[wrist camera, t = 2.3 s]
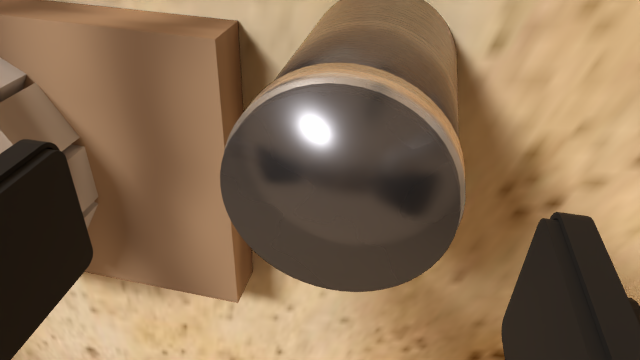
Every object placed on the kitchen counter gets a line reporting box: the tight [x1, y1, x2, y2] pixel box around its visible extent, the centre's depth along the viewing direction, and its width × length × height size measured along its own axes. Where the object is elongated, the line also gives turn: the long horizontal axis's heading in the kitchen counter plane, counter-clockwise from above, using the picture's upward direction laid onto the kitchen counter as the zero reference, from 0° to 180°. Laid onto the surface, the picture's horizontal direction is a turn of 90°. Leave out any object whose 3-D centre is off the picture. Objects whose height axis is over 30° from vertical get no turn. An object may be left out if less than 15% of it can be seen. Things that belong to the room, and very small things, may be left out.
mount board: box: [0, 0, 253, 303], centre depth 20 cm, size 18×12×4 cm, turn 88°
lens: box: [220, 0, 465, 292], centre depth 13 cm, size 5×5×8 cm
